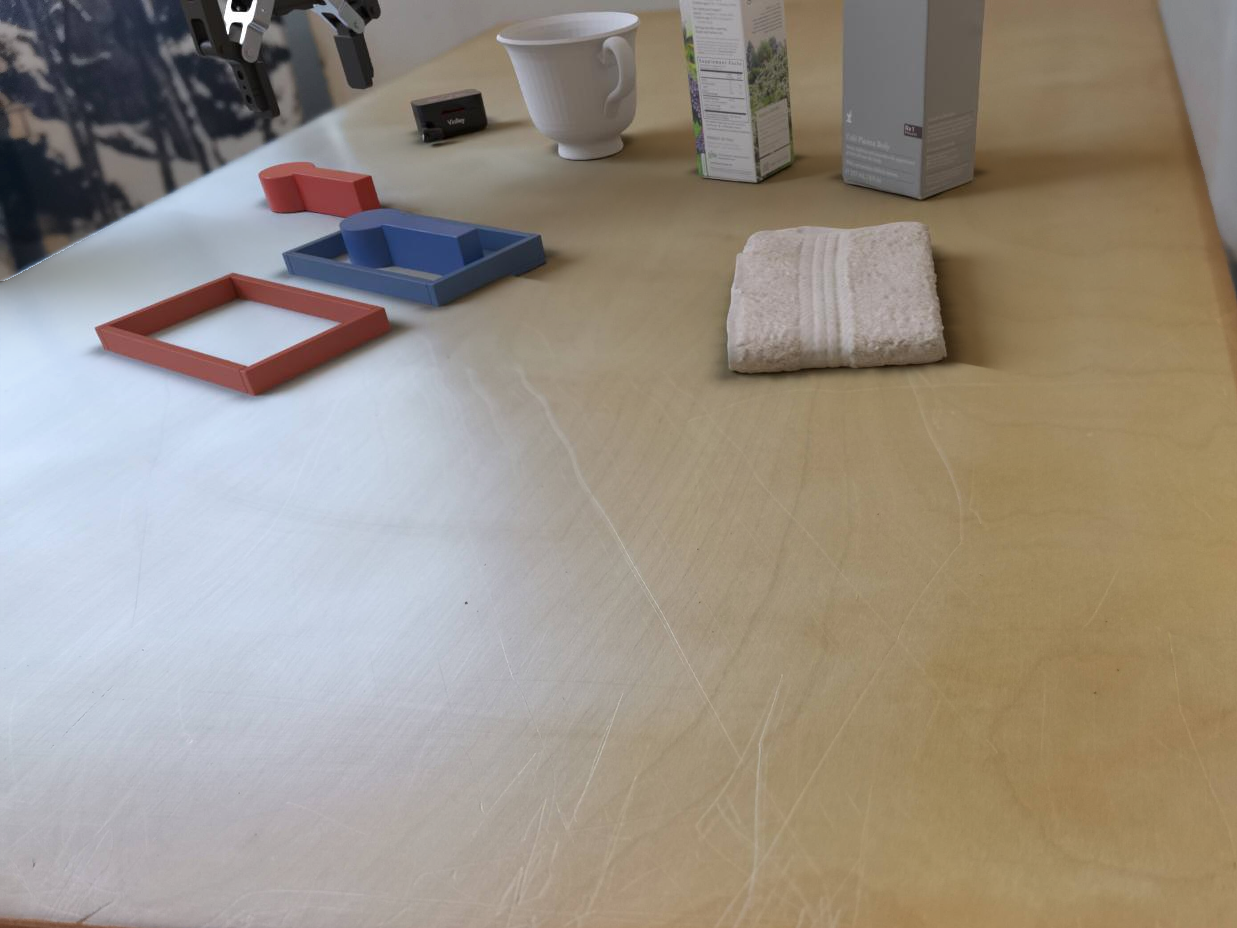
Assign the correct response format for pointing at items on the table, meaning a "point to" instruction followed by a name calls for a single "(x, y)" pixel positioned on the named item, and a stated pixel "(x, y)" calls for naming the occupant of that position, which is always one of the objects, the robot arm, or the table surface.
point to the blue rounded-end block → (408, 242)
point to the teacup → (577, 78)
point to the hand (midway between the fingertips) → (316, 102)
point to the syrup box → (738, 87)
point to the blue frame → (501, 257)
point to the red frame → (130, 341)
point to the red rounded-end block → (317, 190)
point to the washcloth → (835, 299)
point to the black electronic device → (449, 114)
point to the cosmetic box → (910, 93)
